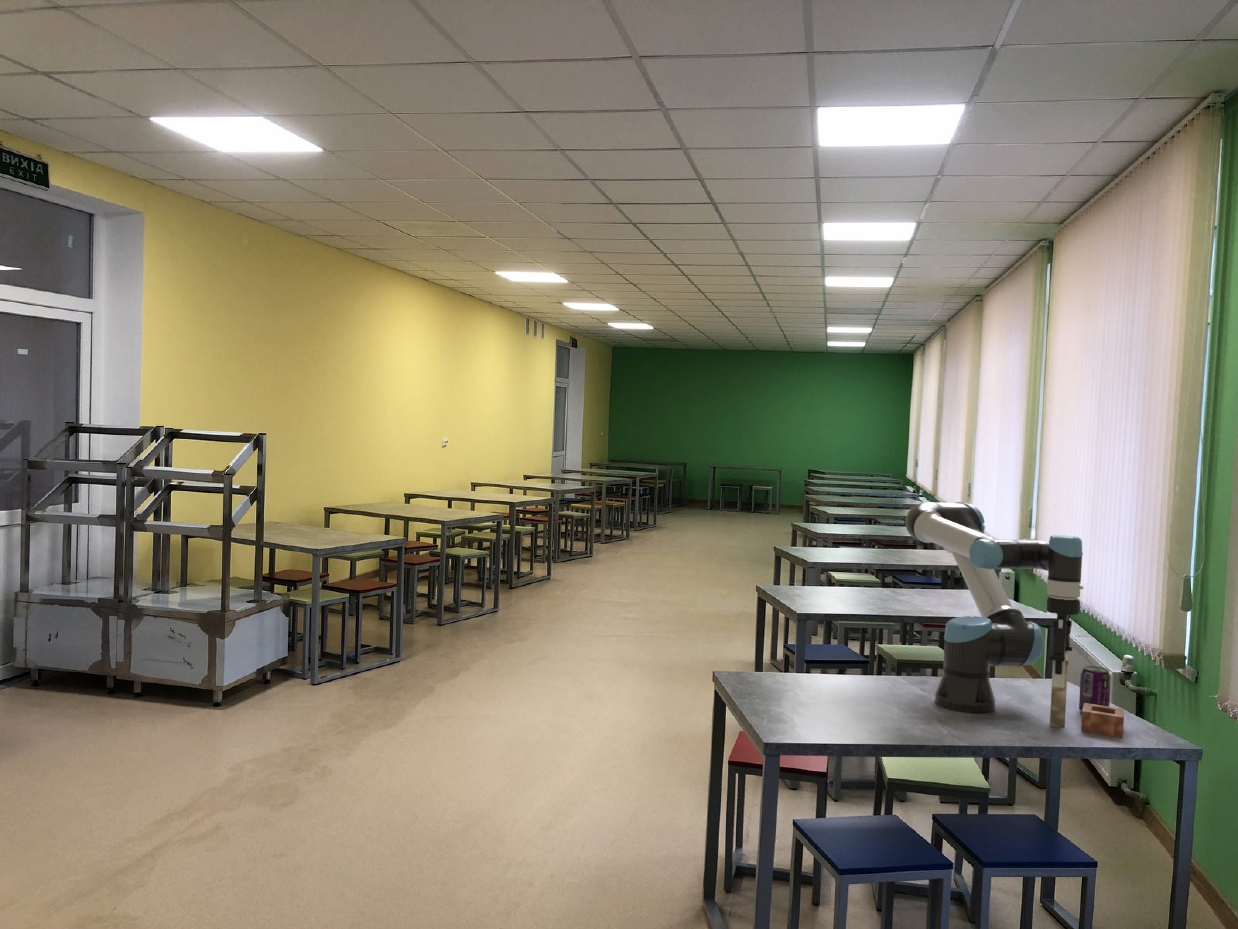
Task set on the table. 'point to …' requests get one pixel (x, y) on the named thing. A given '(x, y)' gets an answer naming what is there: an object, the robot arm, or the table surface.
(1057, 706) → the wooden dowel rod
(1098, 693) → the beverage can
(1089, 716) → the brown hollow square block
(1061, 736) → the table surface
